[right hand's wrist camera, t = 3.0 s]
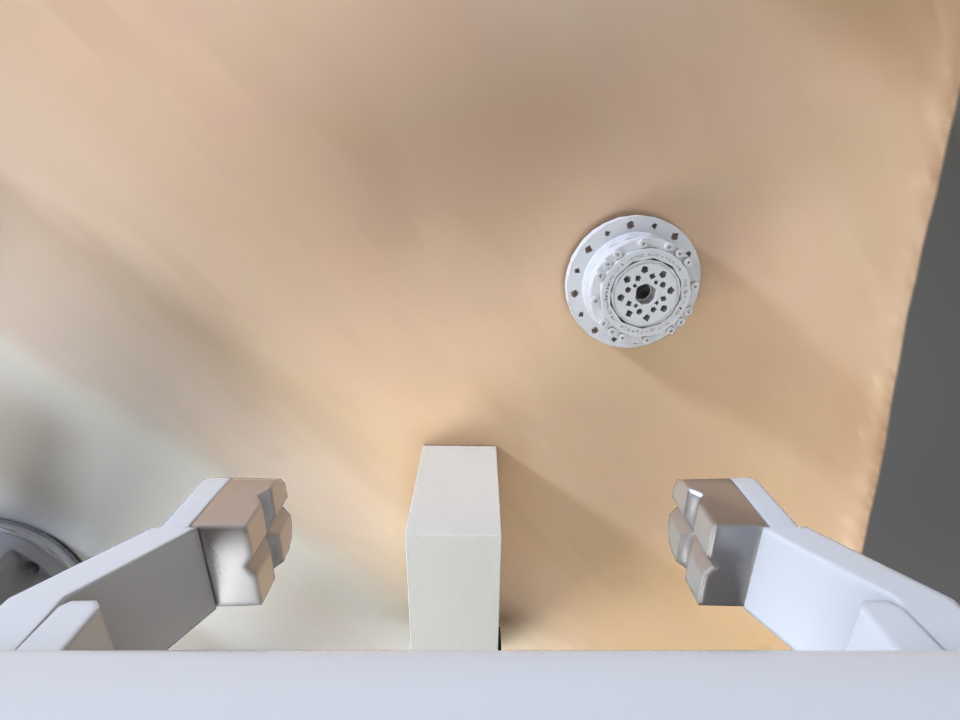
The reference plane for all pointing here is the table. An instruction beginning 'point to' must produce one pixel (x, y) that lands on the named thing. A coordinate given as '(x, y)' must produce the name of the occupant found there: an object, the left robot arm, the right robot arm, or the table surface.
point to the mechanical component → (633, 281)
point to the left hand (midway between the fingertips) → (459, 637)
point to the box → (454, 550)
